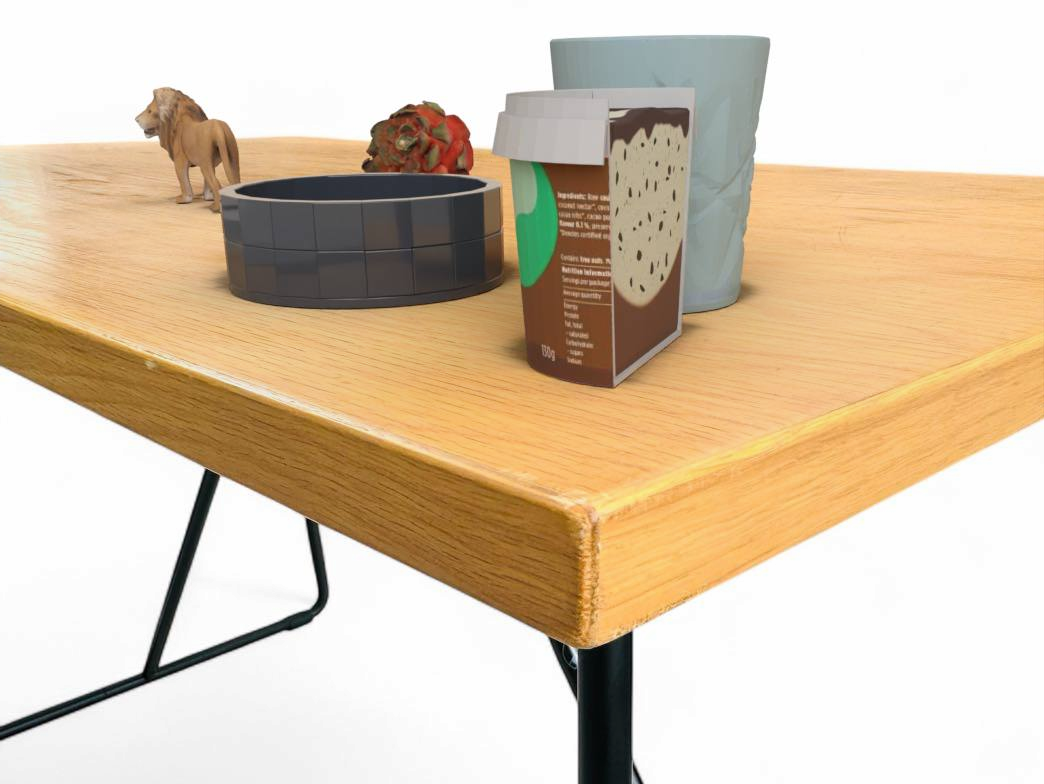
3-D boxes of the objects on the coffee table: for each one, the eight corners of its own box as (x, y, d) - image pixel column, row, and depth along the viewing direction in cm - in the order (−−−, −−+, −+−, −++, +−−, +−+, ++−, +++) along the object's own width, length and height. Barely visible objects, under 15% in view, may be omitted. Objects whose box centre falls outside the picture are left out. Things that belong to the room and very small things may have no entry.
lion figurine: (139, 200, 103) (124, 87, 99) (196, 195, 106) (184, 85, 103) (226, 215, 93) (212, 89, 89) (286, 208, 96) (275, 87, 93)
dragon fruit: (421, 237, 91) (410, 239, 103) (509, 165, 91) (487, 175, 103) (347, 143, 89) (344, 156, 100) (437, 69, 89) (423, 90, 100)
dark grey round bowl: (172, 288, 64) (159, 191, 62) (368, 252, 75) (363, 168, 73) (368, 321, 56) (361, 209, 54) (557, 275, 67) (557, 180, 65)
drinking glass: (539, 315, 57) (535, 37, 52) (564, 277, 66) (563, 38, 61) (759, 318, 55) (775, 33, 51) (753, 279, 64) (766, 35, 60)
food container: (560, 318, 56) (559, 86, 52) (690, 327, 54) (698, 86, 50) (444, 383, 45) (432, 98, 41) (600, 397, 43) (603, 99, 39)
